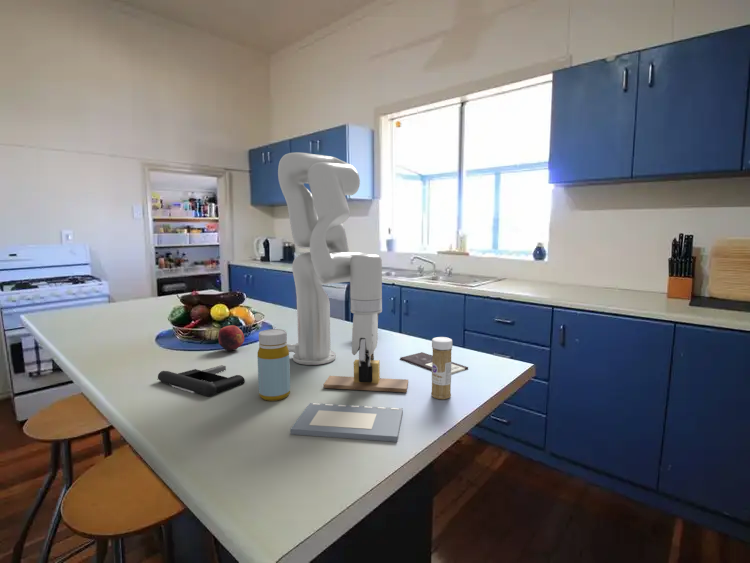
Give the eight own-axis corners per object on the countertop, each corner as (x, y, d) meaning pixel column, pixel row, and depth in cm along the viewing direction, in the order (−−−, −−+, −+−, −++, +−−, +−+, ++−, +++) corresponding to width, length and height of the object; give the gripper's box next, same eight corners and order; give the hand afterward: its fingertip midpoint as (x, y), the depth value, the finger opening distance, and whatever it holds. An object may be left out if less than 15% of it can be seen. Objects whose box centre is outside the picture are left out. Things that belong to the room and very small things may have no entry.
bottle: (274, 404, 90) (272, 337, 88) (252, 397, 94) (249, 333, 92) (296, 393, 96) (294, 330, 94) (275, 387, 100) (272, 327, 98)
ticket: (290, 434, 77) (290, 428, 76) (310, 407, 88) (309, 402, 88) (397, 441, 74) (397, 436, 74) (402, 412, 85) (402, 407, 85)
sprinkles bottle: (427, 396, 94) (427, 338, 93) (439, 390, 97) (440, 335, 96) (443, 401, 91) (444, 342, 89) (455, 396, 94) (456, 338, 92)
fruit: (248, 347, 135) (247, 323, 134) (238, 354, 127) (237, 329, 126) (225, 346, 136) (224, 323, 135) (214, 353, 128) (212, 328, 127)
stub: (323, 387, 99) (323, 364, 98) (329, 379, 105) (329, 356, 104) (406, 392, 96) (406, 367, 95) (408, 383, 102) (408, 360, 101)
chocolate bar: (422, 352, 127) (468, 367, 113) (422, 355, 127) (468, 370, 113) (400, 357, 121) (445, 374, 107) (400, 360, 121) (445, 377, 107)
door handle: (207, 359, 116) (152, 372, 102) (258, 370, 106) (204, 387, 92) (207, 370, 116) (152, 385, 102) (258, 383, 106) (204, 402, 92)
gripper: (357, 299, 107) (358, 368, 109) (343, 311, 91) (344, 391, 93) (386, 300, 106) (386, 369, 108) (376, 312, 90) (376, 393, 92)
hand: (366, 379), depth 101 cm, fingers closed on stub, 2 cm apart
